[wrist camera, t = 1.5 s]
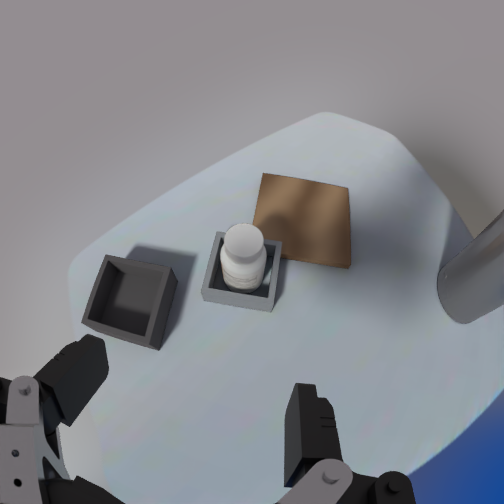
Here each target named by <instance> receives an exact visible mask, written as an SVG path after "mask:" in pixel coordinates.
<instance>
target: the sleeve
mask: <svg viewBox="0 0 504 504" xmlns="http://www.w3.org/2000/svg"><path fill="white" fill-rule="evenodd" d="M225 234H226V233H224V232H216V236H215V240H214V243H213V247H212V251H211V255H210V258H209V262H208V266H207V270H206V274H205V278H204V282H203V285H202V289H201V294H202V297H203V299H204V301H209V302H214V303H220V304H225V305H231V306H236V307H242V308H248V309H254V310H260V311H266V312H271V311H272V308H273V305H274V298H275V291H276V284H277V277H278V269H279V262H280V254H281V246H282V242H280V241H274V240H268V239H264V244H263V245H264V246H265V249H266V254H267V256H273V264H272V271H271V277H270V284H269V291H268V297H267V298H264V297H258V296H252V295H246V294H240V293H234V292H229V291H223V290H218V289H212V288H213V284H214V280H215V275H216V271H217V267H218V263H219V259H220V253H221V248H222V246H223V244H224V238H225Z"/></svg>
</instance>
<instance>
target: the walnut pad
mask: <svg viewBox="0 0 504 504" xmlns="http://www.w3.org/2000/svg"><path fill="white" fill-rule="evenodd" d="M253 226H255V227H257V228H258V229H259V230H260V231H261V233H262V235H263V238H264V239H268V240H274V241H280V242H282V246H281V254H280V258H285V259H291V260H297V261H304V262H310V263H316V264H322V265H328V266H334V267H341V268H347V269H348V268H349V267H350V265H351V240H350V214H349V197H348V188H344V187H339V186H334V185H329V184H324V183H319V182H313V181H308V180H302V179H297V178H291V177H285V176H279V175H272V174H266V173H263V175H262V180H261V185H260V190H259V195H258V200H257V205H256V210H255V215H254V220H253Z"/></svg>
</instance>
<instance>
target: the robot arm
mask: <svg viewBox="0 0 504 504" xmlns="http://www.w3.org/2000/svg"><path fill="white" fill-rule="evenodd" d="M437 286H438V294H439V298H440V301H441V303H442V305H443V308H444V309H445V311H446V312H447V314H448V315H449V316H450V317H451V318H452V319H453V320H455V321H456V322H459V323H461V324H467V323H470V322H472V321H474V320H476V319H478V318H480V317H482V316H484V315H486V314H487V313H489V312H491V311H493V310H495V309H497V308H498V307H500V306H502V305H504V210H503V211H502V212H501V213H500V214H499V215H498V216H497V217H496V218H495V219H494V220H493V222H491V223H490V224H489V225H488V227H486V229H484V230H483V231H482V232H481V233H480V234H479V235H478V236H477V237H476V238H475V239H474V240H473V241H472V242H471V243H470V244H469V245H468V246H466V247H465V248H464V249H463V250H462V251H461V252H460V253H459V254H457V255H456V256H455V257H454V258H453V259H452V260H451V261H450V262H448V263H447V264H446V265H445V266H444V267H443V268H442V269H441V271H440V273H439V276H438V282H437ZM108 371H109V365H108V359H107V353H106V347H105V342H104V340H103V339H101V338H98V337H95V336H93V335H90V334H86V335H85V336H84V337H83V338H82V339H81V340H80V341H78V342H77V341H75V342H73V343H71V344H69V345H66V346H65V347H64V348H63V349H62V350H61V351H60V352H59V354H57V355H55V356H54V359H51V360H50V361H49V362H48V363H47V364H46V365H45V366H44V367H43V368H42V369H41V370H40V371H39V372H38V373H37V374H36V375H35V376H34V377H30V376H20V377H17V378H16V379H14V380H13V381H11V380H8V379H5V378H1V377H0V504H125V503H123V502H122V501H120V500H119V499H117V498H116V497H114V496H113V495H112V494H110V493H109V492H107V491H106V490H105V489H103V488H101V487H99V486H97V485H95V484H93V483H91V482H89V481H87V480H85V479H83V478H81V477H79V476H76V478H75V479H74V480H70V477H69V474H68V472H67V470H66V468H65V465H64V460H63V455H62V448H61V441H60V433H59V428H58V425H59V424H60V422H62V423H64V424H65V425H67V426H69V427H70V426H71V425H72V423H73V422H74V421H75V419H76V418H77V417H78V415H79V414H80V413H81V411H82V410H83V408H84V407H85V406H86V404H87V403H88V402H89V400H90V399H91V398H92V396H93V395H94V394H95V393H96V391H97V390H98V389H99V387H100V386H101V385H102V383H103V382H104V381H105V379H106V378H107V375H108ZM284 487H291V488H292V489H291V490H290V491H289V492H288V493H287V494H285V495H284V496H283V497H282V498H281V499H280V500H279V501H278V502H277V503H275V504H416V502H415V497H414V493H413V488H412V484H411V481H410V480H409V478H408V477H407V476H406V475H404V474H403V473H400V472H397V471H390V472H386V473H384V474H382V475H381V476H380V477H379V478H376V477H371V476H365V475H360V474H357V473H355V472H353V471H351V469H350V467H349V466H348V465H347V464H345V463H344V462H343V459H342V455H341V449H340V443H339V437H338V432H337V428H336V421H335V415H334V410H333V407H332V405H331V404H330V403H329V401H328V400H327V398H319V397H317V391H316V386H315V385H314V384H304V383H296V384H295V386H294V389H293V392H292V395H291V398H290V400H289V403H288V406H287V409H286V414H285V456H284Z"/></svg>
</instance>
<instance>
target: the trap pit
mask: <svg viewBox="0 0 504 504" xmlns="http://www.w3.org/2000/svg"><path fill="white" fill-rule="evenodd" d="M177 282H178V281H177V279H176V277H175V275H174V273H173V271H172V269H171V267H166V266H160V265H155V264H150V263H145V262H140V261H135V260H130V259H125V258H120V257H116V256H111V255H105V257H104V260H103V262H102V265H101V267H100V270H99V272H98V275H97V278H96V280H95V283H94V286H93V289H92V292H91V294H90V297H89V300H88V303H87V306H86V309H85V312H84V315H83V319H82V322H81V323H83V324H84V325H86V326H88V327H90V328H91V329H93V330H95V331H97V332H100V333H103V334H106V335H109V336H112V337H115V338H118V339H121V340H124V341H128V342H131V343H134V344H138V345H141V346H145V347H148V348H152V349H155V350H160V346H161V342H162V338H163V334H164V330H165V326H166V322H167V318H168V315H169V311H170V307H171V304H172V300H173V296H174V293H175V289H176V286H177Z"/></svg>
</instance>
